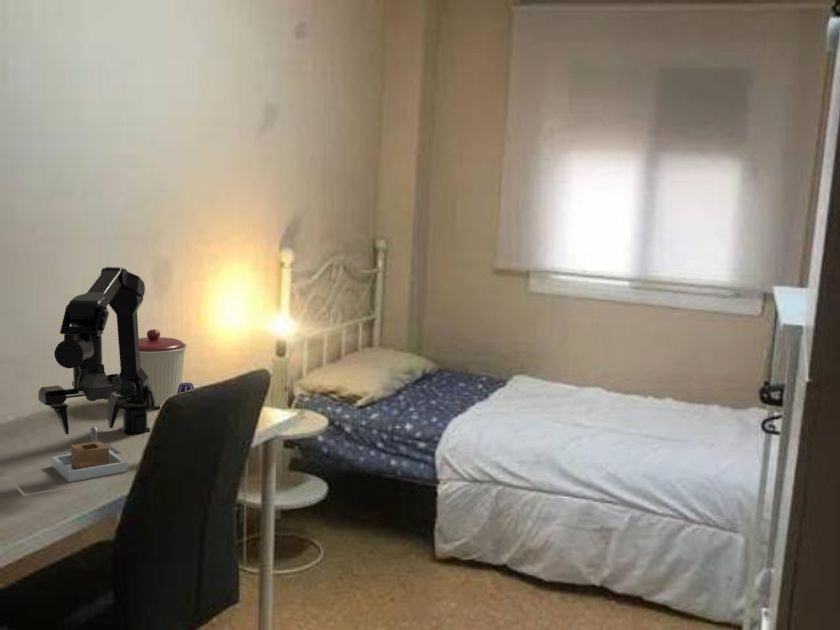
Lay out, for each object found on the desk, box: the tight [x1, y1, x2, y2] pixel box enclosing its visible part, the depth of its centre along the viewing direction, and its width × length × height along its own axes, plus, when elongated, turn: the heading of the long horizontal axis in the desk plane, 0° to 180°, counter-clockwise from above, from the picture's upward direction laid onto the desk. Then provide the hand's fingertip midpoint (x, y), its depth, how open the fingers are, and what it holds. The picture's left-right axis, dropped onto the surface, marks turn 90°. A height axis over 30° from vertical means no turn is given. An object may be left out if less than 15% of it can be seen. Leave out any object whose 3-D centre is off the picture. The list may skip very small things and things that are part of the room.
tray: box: [51, 450, 128, 483], centre depth 190 cm, size 12×12×2 cm
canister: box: [139, 329, 188, 408], centre depth 247 cm, size 18×18×21 cm
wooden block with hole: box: [70, 440, 109, 470], centre depth 190 cm, size 8×6×5 cm
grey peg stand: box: [67, 426, 121, 455], centre depth 202 cm, size 9×9×6 cm
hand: (89, 431), depth 188 cm, fingers open, 9 cm apart
